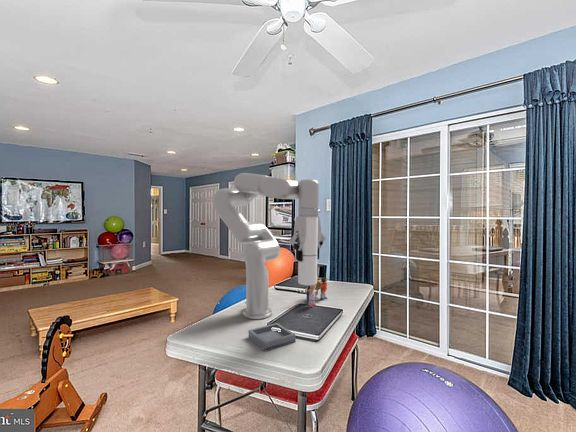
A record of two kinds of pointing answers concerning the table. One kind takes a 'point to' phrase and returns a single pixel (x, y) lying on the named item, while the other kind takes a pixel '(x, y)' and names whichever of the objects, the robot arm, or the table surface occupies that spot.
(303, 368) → the table surface
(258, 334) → the tray
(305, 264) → the cylindrical container
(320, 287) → the doll family
